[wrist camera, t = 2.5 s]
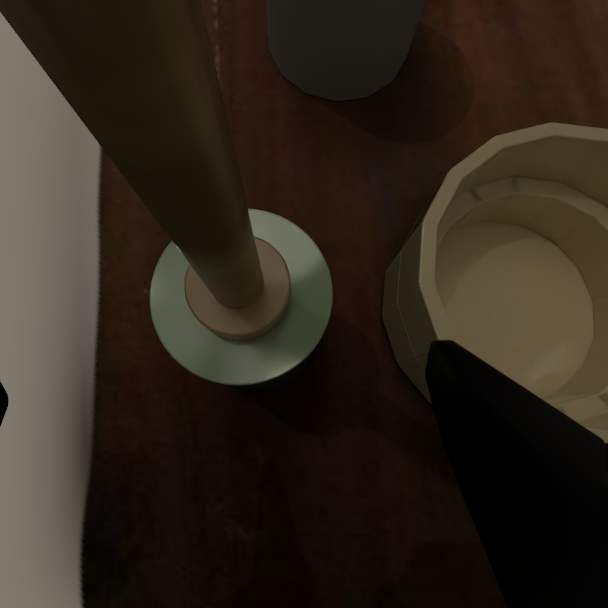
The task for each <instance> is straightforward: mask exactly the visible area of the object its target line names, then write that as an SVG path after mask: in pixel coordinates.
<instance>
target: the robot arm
mask: <svg viewBox="0 0 608 608" xmlns="http://www.w3.org/2000/svg"><path fill="white" fill-rule="evenodd" d="M425 377H426V382H427V386H428V390H429V394H430V397H431V401H432V405H433V409H434V412H435V416H436V420H437V424H438V427H439V431H440V435H441V438H442V442H443V445H444V448H445V450H446V453H447V456H448V458H449V461H450V463H451V466H452V468H453V471H454V474H455V476H456V479H457V481H458V484H459V486H460V489H461V491H462V494H463V496H464V499H465V501H466V504H467V506H468V509H469V511H470V514H471V516H472V519H473V521H474V524H475V526H476V529H477V531H478V534H479V536H480V539H481V541H482V544H483V547H484V549H485V552H486V554H487V557H488V559H489V562H490V564H491V567H492V569H493V572H494V574H495V577H496V579H497V582H498V584H499V587H500V589H501V592H502V594H503V597H504V599H505V602H506V604H507V607H508V608H608V443H605V442H604V440H603V439H602V438H600V437H599V436H597V435H596V434H594V433H593V432H591V431H590V430H588V429H587V428H585V427H584V426H582V425H581V424H579V423H578V422H576V421H575V420H573V419H572V418H570V417H568V416H567V415H565V414H564V413H562V412H561V411H559V410H558V409H556V408H555V407H553V406H552V405H550V404H549V403H547V402H546V401H544V400H543V399H541V398H540V397H538V396H537V395H535V394H534V393H532V392H530V391H529V390H527V389H526V388H524V387H523V386H521V385H520V384H518V383H517V382H515V381H514V380H512V379H511V378H509V377H508V376H506V375H505V374H503V373H502V372H500V371H499V370H497V369H495V368H494V367H492V366H491V365H489V364H488V363H486V362H485V361H483V360H482V359H480V358H479V357H477V356H476V355H474V354H473V353H471V352H470V351H468V350H467V349H465V348H464V347H462V346H461V345H459V344H457V343H456V342H454V341H453V340H434V341H433V342H431V344H430V347H429V352H428V358H427V364H426V370H425ZM7 407H8V395H7V393H6V391H5V389H4V387H3V386H2V384H1V382H0V426H1V423H2V420H3V418H4V415H5V412H6V410H7Z"/></svg>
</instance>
